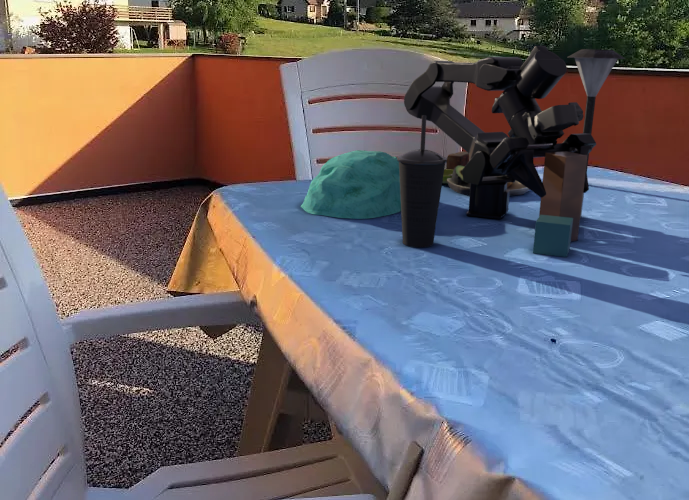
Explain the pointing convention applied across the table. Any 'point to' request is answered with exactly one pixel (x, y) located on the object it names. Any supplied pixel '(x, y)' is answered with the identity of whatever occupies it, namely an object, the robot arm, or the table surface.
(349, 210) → the decorative stone
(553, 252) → the cube near
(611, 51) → the solar garden light
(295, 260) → the table surface
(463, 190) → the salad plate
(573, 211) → the walnut block
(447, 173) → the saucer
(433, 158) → the drinking cup
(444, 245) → the table surface
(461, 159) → the brick
